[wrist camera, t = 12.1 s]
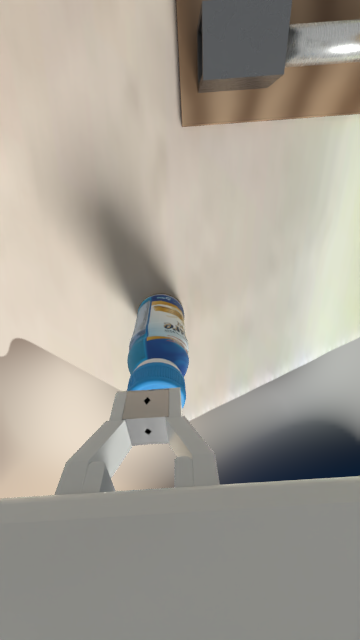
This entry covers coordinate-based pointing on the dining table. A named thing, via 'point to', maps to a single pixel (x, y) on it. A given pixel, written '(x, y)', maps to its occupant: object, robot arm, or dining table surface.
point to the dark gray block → (241, 43)
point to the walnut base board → (285, 93)
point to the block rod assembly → (323, 43)
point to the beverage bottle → (158, 346)
